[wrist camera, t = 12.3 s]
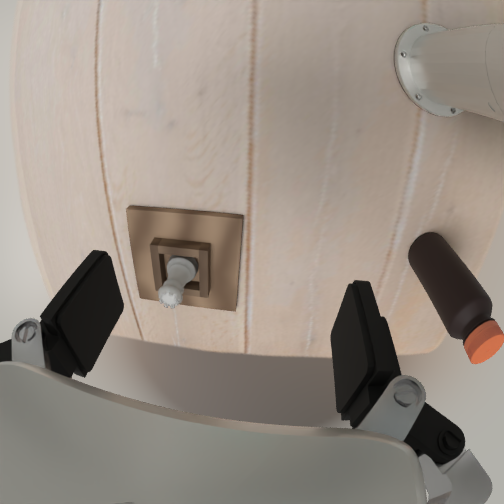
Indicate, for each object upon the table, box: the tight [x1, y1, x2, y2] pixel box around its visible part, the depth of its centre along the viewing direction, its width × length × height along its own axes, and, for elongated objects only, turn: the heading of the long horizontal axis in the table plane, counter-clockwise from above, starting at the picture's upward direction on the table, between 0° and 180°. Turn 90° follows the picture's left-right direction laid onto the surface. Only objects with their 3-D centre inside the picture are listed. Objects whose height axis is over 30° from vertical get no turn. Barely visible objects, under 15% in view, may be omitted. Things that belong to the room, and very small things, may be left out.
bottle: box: [409, 233, 504, 364], centre depth 30 cm, size 7×7×20 cm
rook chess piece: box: [158, 255, 198, 308], centre depth 37 cm, size 4×4×8 cm
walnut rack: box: [126, 206, 243, 311], centre depth 41 cm, size 16×16×3 cm
